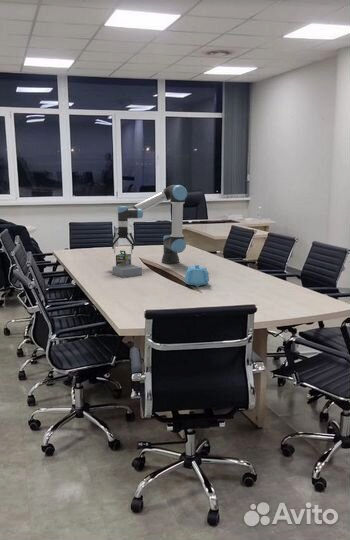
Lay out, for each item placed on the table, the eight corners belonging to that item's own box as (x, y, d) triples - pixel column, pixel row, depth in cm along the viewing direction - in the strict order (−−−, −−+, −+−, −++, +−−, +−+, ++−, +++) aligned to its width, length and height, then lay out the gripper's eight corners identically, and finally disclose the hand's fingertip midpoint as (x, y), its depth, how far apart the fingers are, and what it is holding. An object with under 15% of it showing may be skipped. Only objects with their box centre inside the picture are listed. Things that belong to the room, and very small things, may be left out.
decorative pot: (183, 287, 324) (183, 267, 322) (185, 281, 340) (185, 262, 337) (208, 287, 323) (208, 267, 320) (209, 282, 338) (209, 263, 336)
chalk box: (131, 268, 390) (131, 249, 387) (125, 270, 381) (125, 251, 379) (121, 267, 393) (121, 249, 391) (115, 269, 385) (115, 250, 382)
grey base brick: (112, 274, 368) (112, 266, 367) (131, 272, 377) (131, 264, 376) (122, 278, 355) (122, 269, 354) (141, 275, 364) (141, 267, 363)
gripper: (105, 226, 379) (106, 253, 383) (137, 227, 376) (137, 254, 380) (108, 225, 386) (108, 252, 390) (139, 226, 383) (139, 253, 387)
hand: (123, 253), depth 385 cm, fingers open, 13 cm apart
